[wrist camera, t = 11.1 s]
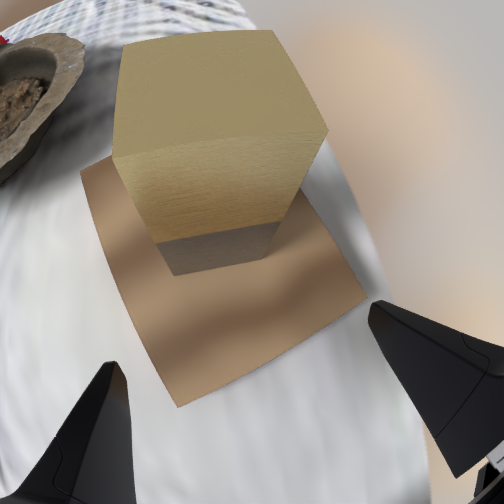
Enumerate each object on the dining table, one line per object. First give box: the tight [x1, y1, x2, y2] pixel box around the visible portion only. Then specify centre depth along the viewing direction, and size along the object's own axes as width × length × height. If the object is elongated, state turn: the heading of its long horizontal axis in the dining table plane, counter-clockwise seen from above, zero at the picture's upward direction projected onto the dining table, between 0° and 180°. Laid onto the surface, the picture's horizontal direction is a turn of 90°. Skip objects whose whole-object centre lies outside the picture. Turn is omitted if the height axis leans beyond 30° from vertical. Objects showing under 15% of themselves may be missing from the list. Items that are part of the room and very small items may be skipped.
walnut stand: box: [80, 155, 368, 408], centre depth 20 cm, size 18×14×2 cm
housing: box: [112, 30, 328, 276], centre depth 13 cm, size 6×6×12 cm
